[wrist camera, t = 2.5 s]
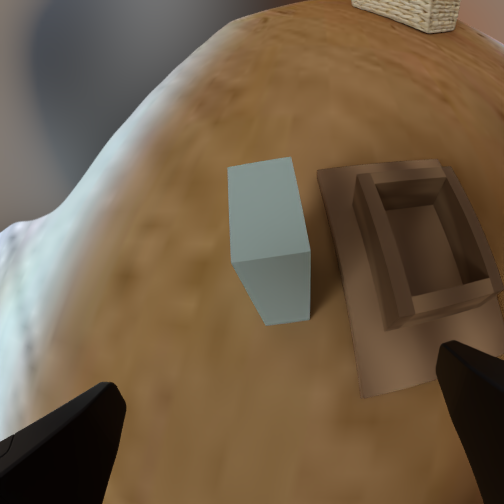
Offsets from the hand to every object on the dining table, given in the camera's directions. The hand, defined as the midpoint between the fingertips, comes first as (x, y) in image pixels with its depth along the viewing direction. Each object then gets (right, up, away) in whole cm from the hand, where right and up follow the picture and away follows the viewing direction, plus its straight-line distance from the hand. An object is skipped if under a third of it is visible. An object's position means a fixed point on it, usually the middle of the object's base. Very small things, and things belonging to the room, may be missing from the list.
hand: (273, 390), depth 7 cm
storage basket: (+34, +57, +38) cm, 77 cm away
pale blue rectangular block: (+2, +1, +14) cm, 14 cm away
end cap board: (+12, +3, +13) cm, 18 cm away
